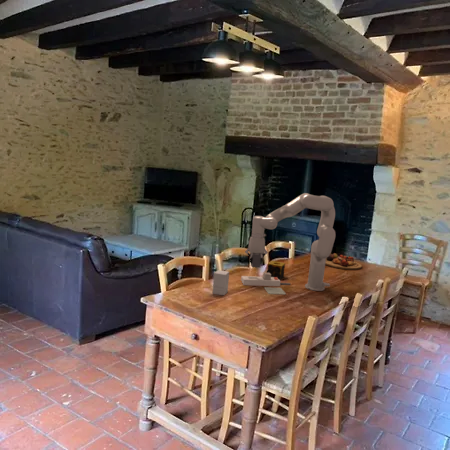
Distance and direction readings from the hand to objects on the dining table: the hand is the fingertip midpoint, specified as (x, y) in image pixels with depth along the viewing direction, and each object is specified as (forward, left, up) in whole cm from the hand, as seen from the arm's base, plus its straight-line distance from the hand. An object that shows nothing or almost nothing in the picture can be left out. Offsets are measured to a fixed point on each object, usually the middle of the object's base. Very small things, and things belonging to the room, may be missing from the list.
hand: (255, 263), depth 268 cm
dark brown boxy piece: (-19, -16, -14) cm, 28 cm away
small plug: (-9, 0, -12) cm, 14 cm away
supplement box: (+24, +20, -14) cm, 35 cm away
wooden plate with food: (-85, -58, -14) cm, 104 cm away
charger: (0, 0, -2) cm, 2 cm away
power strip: (-9, 0, -14) cm, 16 cm away
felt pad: (-11, +14, -14) cm, 22 cm away
